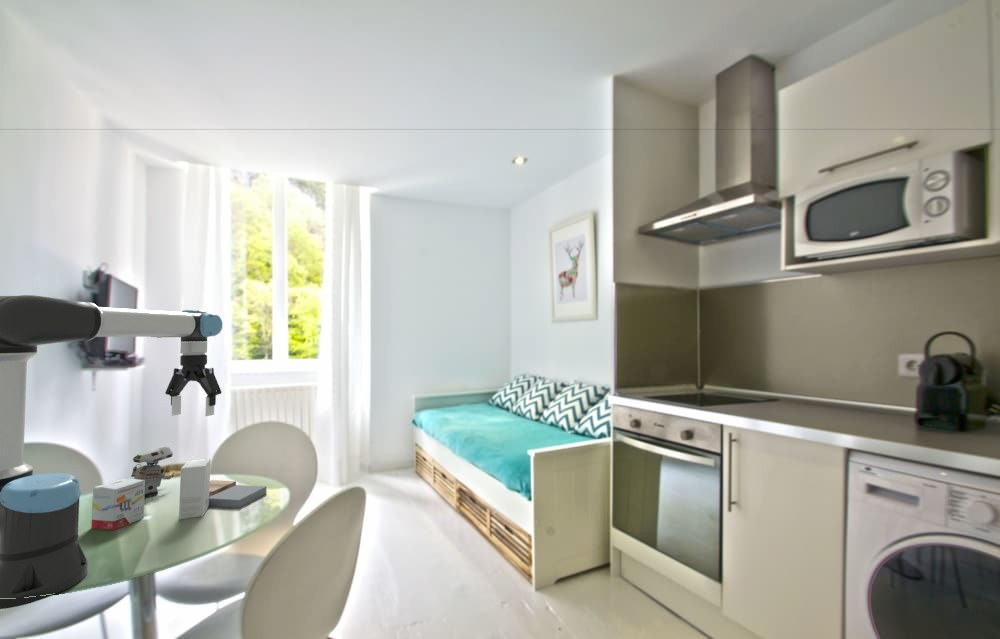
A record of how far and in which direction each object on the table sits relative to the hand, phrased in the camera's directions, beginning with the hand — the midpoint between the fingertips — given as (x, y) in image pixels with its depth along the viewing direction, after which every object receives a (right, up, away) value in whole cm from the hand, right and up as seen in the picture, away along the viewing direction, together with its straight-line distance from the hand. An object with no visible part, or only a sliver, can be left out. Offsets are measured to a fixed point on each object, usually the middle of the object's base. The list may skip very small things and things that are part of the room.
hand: (192, 415), depth 141 cm
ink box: (-6, -27, -21) cm, 35 cm away
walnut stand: (+6, -28, +1) cm, 29 cm away
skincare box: (+12, -27, -14) cm, 33 cm away
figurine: (-17, -29, +3) cm, 33 cm away
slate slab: (+18, -28, -4) cm, 33 cm away
